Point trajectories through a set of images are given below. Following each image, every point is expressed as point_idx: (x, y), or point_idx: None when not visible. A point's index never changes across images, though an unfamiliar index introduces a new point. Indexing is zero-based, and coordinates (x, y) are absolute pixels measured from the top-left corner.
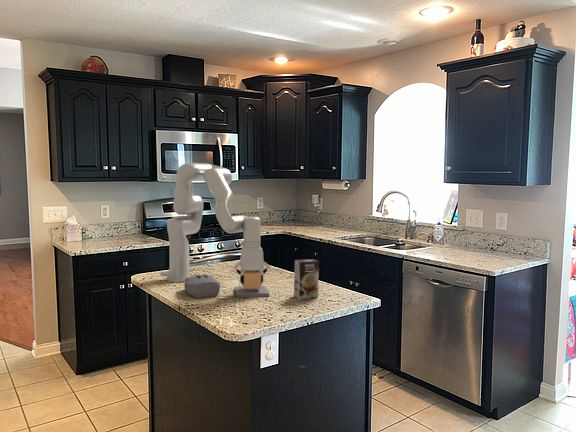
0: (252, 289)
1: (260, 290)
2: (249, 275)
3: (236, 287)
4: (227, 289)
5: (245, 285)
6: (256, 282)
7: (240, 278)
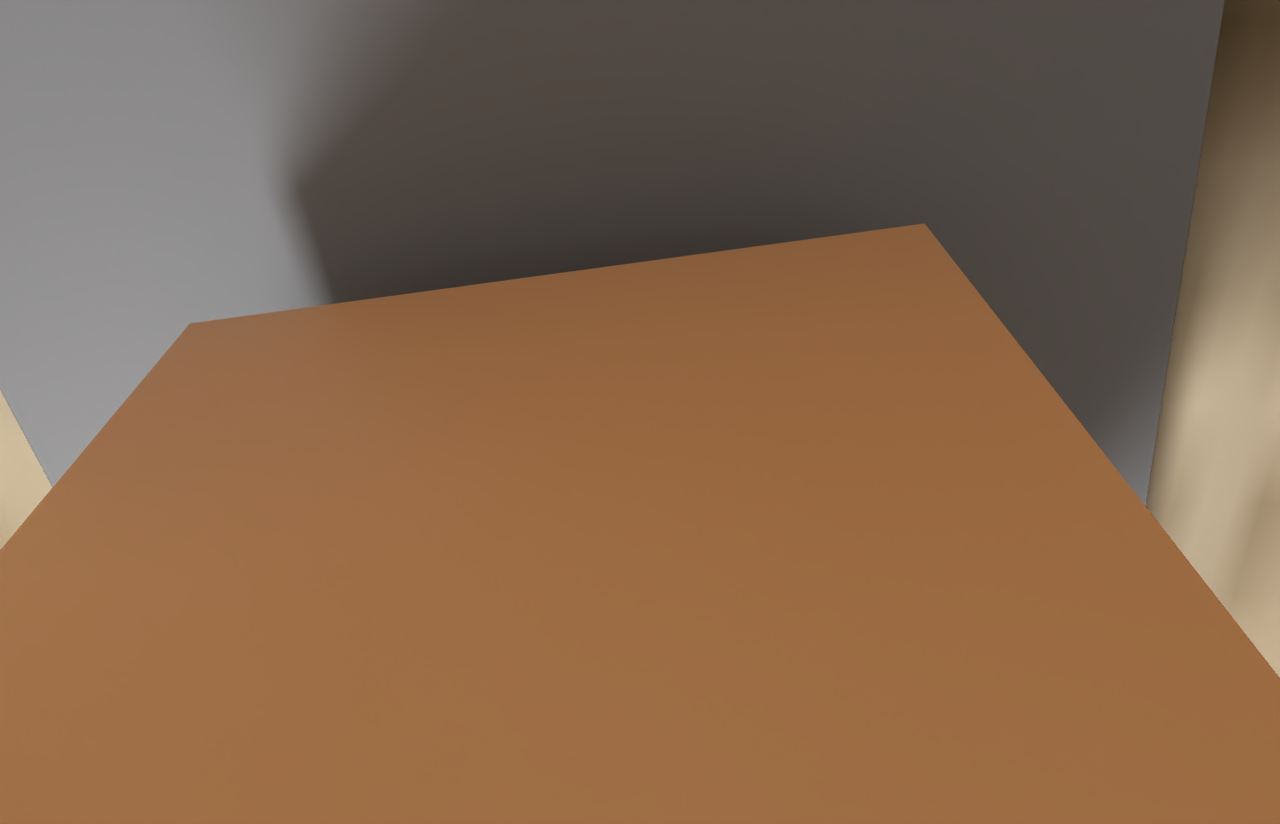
0: None
1: None
2: (774, 734)
3: None
4: None
5: (905, 300)
6: (309, 446)
7: None
